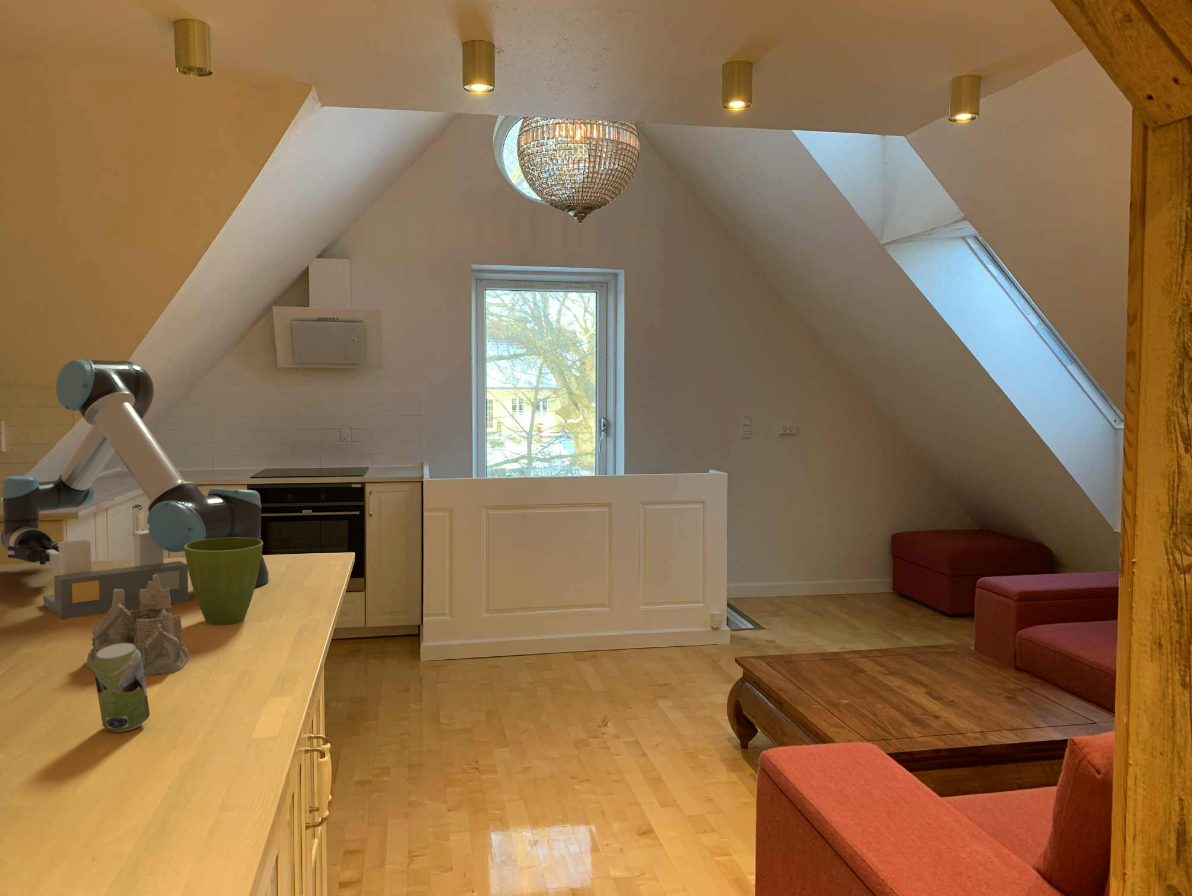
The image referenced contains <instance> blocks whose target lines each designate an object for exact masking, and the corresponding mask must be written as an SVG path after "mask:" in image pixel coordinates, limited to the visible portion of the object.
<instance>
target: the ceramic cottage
mask: <svg viewBox="0 0 1192 896" xmlns="http://www.w3.org/2000/svg"><path fill="white" fill-rule="evenodd" d="M152 580H153V581H149V582H148V585H147V588H146V589H140V590H139V607H140V608H139V609H132V610H129V609H128V610H126V609H125V600H124V590H123V589H115V590H113V600H112V607H111V608H110V609H109V612H107V613H105V614H106V615H104V617H102V618H101V619H100V621H99V622H98V624H96V625H95V627H94V628H92V629H91V630H90V631H91V633H92V636H93V637H92V639H91V641H92V643H91V646H92V648H91V649H90V651H89V653H88V654H87V659H86V663H85V665H86V667H87V669H89V670H90V671H93V672H94V667H93V663H94V660H95V658H96V657H97V656H96V654H97V652H98V651H99V650H100V649H102V648H104V647H106V646H109V645H113V644H117V643H132V644H134V645H135V647H136V649H137V650H139V652H140V653H141V657H142V664H143V671H144V677H150V676H153V675H154V676H156V675H164V674H171V673H175V672H178V671H181V670H182V669H183V668H184V666H186V664H187V663H188V662H189V660H190V655H189V649H188V647H186V646H185V645H184V643H183V640H184V634H183V633H184V632H183V626H182V617H181V614H180V613H179V614H175V615H173V614H172V613H171V612H170V610H171V608H172V606H171V604H172V603H171V600H170V594H169V588H164V589H162V588H161V586H160V580H159V576H158V575H153V577H152Z"/></svg>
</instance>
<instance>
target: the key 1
mask: <svg viewBox="0 0 1192 896" xmlns="http://www.w3.org/2000/svg"><path fill="white" fill-rule="evenodd" d="M58 545H59V566H58V567H59V575H66V574H75V573H83V572H91V571H92V546H91V545H92V543H91V541H90V540H87V539H75V540H65V541H64V540H63V541H58Z"/></svg>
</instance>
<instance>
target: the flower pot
mask: <svg viewBox="0 0 1192 896" xmlns="http://www.w3.org/2000/svg"><path fill="white" fill-rule="evenodd" d="M263 546H264V542H263V540H262V539H261V540H259V539H254V538H242V537H227V538H213V539H204V540H198V541H194V542H190V543H188V544H186V545H185V546H184V550H185V552H184V555H185V560H186V564H187V567H188V577H189V579H190V582H191V586H192V588H193V592H194V596H195V598H196V601H197V605H198V607H199V609H200V612H201V614H202V616H203V619H204V620H205V622H206V623H207V624H209V625H217V626H223V625H224V626H225V625H232V624H237V623H240V622H242V621H244V620H245V618H246V616H247V614H248V610H249V607H250V604H251V603H252V602H251V601H252V598H253V595H254V591H255V588H256V587H255V585H256V581H257V577H258V573H259V568H260V562H261V555H263V553H262V552H263Z"/></svg>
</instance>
